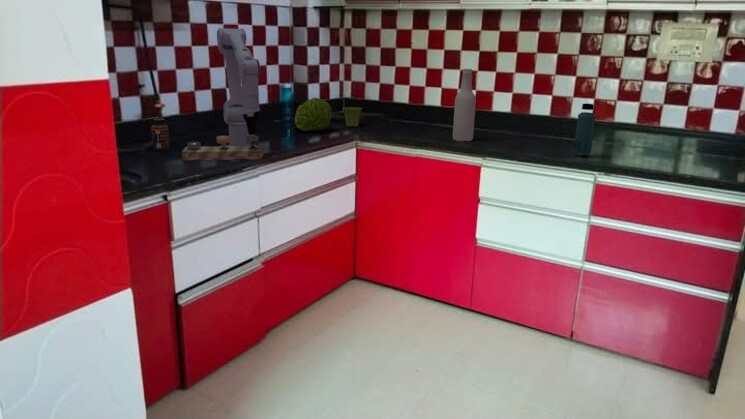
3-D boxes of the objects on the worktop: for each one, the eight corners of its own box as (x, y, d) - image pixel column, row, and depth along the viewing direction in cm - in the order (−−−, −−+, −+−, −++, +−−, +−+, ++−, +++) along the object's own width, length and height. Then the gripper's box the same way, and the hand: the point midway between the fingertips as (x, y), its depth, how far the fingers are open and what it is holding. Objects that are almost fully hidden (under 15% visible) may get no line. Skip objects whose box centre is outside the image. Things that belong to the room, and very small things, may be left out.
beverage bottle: (593, 156, 215) (600, 103, 210) (586, 158, 211) (593, 105, 205) (576, 153, 220) (583, 102, 214) (569, 156, 215) (576, 103, 209)
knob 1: (187, 155, 195) (186, 144, 194) (189, 153, 199) (188, 141, 198) (200, 155, 195) (199, 144, 194) (202, 152, 200) (201, 141, 198)
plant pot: (338, 125, 274) (338, 108, 272) (351, 124, 281) (351, 106, 279) (352, 128, 268) (353, 109, 266) (365, 126, 275) (366, 108, 273)
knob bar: (182, 160, 193) (182, 151, 192) (186, 155, 201) (185, 146, 200) (262, 159, 197) (262, 150, 196) (263, 154, 206) (262, 146, 205)
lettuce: (288, 135, 267) (320, 137, 273) (301, 127, 244) (336, 129, 250) (288, 104, 267) (320, 106, 273) (301, 93, 244) (336, 95, 250)
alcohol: (449, 140, 242) (454, 68, 233) (456, 137, 250) (460, 68, 241) (469, 142, 238) (474, 69, 230) (475, 139, 246) (480, 69, 237)
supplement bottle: (162, 151, 206) (159, 120, 203) (149, 150, 208) (146, 119, 205) (173, 148, 211) (170, 118, 208) (160, 147, 214) (158, 117, 210)
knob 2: (246, 148, 197) (245, 137, 196) (246, 146, 202) (246, 135, 200) (258, 148, 198) (258, 137, 197) (259, 146, 202) (258, 135, 201)
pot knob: (216, 149, 196) (216, 137, 195) (217, 146, 200) (217, 135, 199) (229, 149, 196) (229, 137, 195) (230, 146, 201) (229, 135, 199)
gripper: (239, 93, 201) (241, 131, 205) (237, 97, 187) (239, 138, 191) (259, 93, 202) (261, 131, 206) (258, 97, 188) (260, 137, 192)
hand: (252, 134), depth 198 cm, fingers closed
